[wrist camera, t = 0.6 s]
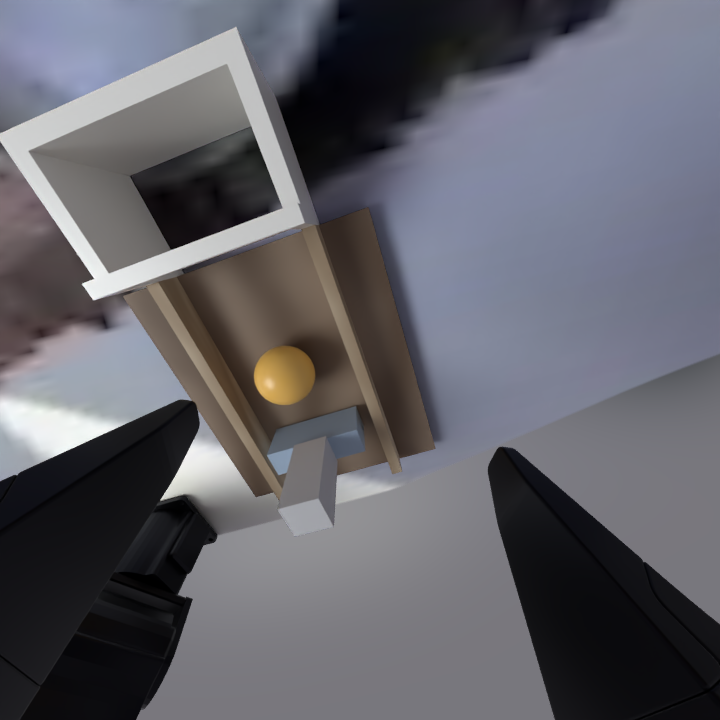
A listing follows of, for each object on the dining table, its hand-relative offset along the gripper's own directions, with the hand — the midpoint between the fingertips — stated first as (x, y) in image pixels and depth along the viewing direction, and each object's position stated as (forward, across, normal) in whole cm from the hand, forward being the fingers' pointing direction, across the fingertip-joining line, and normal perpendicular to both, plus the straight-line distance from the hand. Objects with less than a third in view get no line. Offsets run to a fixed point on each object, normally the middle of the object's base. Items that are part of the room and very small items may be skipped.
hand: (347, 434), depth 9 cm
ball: (+10, +4, +5) cm, 12 cm away
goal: (+14, +10, -4) cm, 17 cm away
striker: (+11, +2, +11) cm, 16 cm away
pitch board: (+13, +4, +7) cm, 15 cm away
